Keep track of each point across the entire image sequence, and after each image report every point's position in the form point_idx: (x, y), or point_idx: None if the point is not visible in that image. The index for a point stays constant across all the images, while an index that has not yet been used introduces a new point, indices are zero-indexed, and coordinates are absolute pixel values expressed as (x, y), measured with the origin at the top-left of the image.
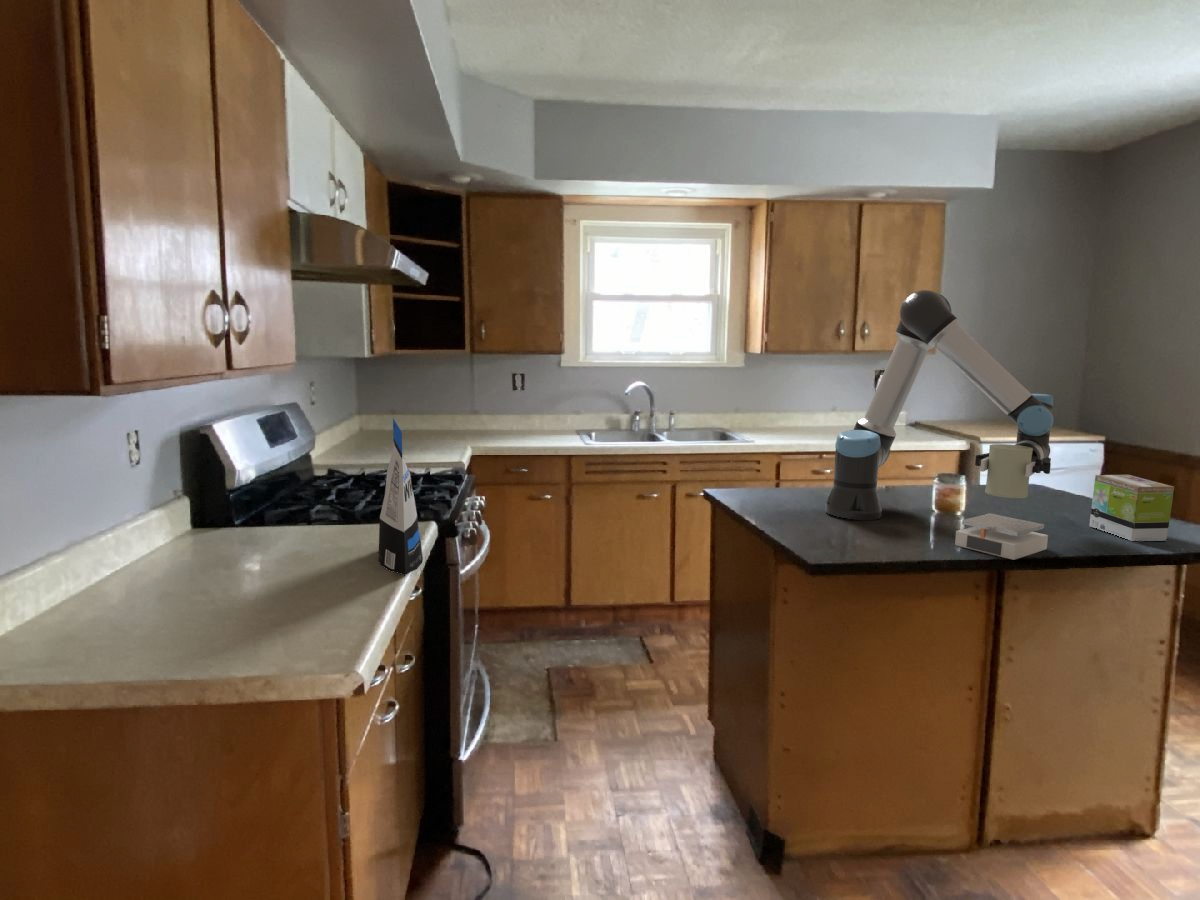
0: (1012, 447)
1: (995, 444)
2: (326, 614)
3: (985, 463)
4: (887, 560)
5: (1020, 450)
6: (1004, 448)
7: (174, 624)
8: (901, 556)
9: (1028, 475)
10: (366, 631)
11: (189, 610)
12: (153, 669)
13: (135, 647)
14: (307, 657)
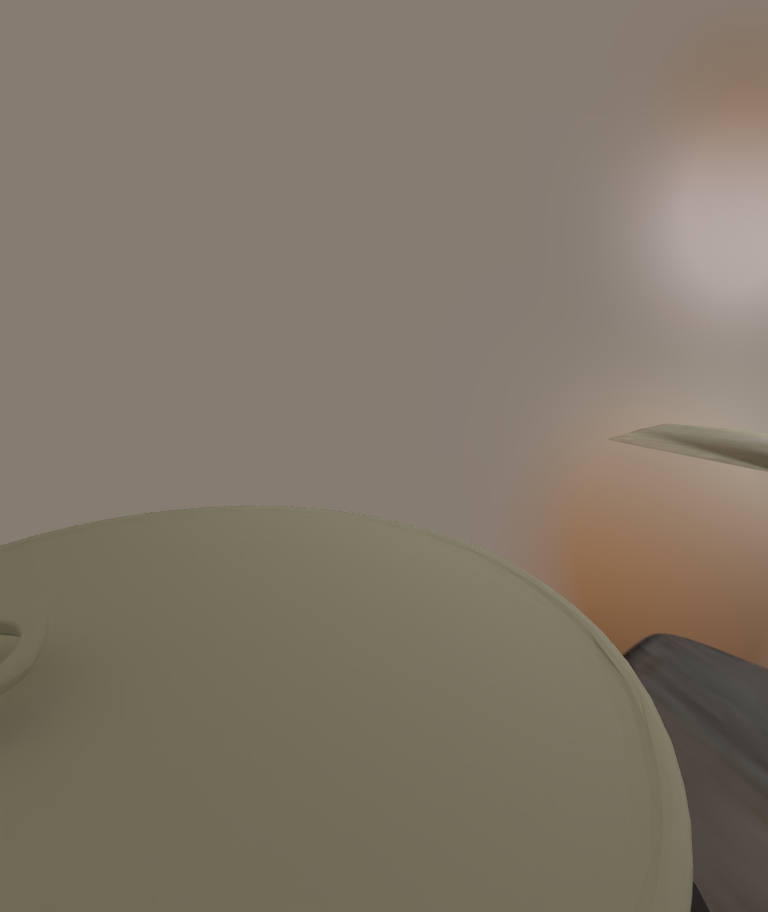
0: (193, 653)
1: (653, 851)
2: (711, 452)
3: None
4: None
5: (138, 521)
6: (326, 510)
7: (726, 439)
8: None
9: None
10: (664, 450)
11: (752, 444)
12: (657, 430)
13: (694, 433)
14: (637, 440)
